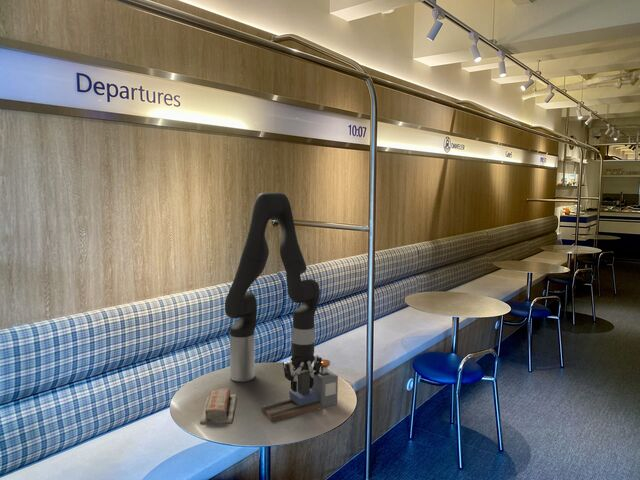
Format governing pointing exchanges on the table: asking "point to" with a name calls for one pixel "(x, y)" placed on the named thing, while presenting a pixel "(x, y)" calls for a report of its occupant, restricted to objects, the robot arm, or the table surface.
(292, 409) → the rail bed
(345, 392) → the table surface
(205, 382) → the table surface
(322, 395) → the end cabinet
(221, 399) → the packaged product
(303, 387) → the carriage
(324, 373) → the orange push button
